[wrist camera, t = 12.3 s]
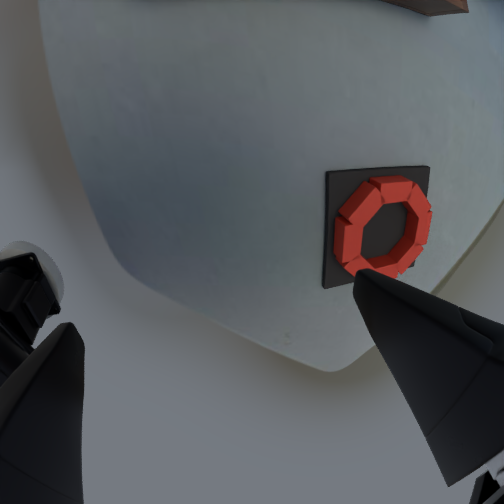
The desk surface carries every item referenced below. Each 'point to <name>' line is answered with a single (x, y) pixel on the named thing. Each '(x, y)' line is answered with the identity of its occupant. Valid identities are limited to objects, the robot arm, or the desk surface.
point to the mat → (378, 227)
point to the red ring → (363, 210)
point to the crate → (433, 6)
